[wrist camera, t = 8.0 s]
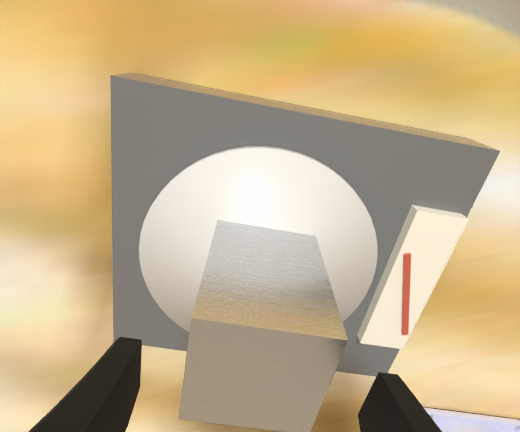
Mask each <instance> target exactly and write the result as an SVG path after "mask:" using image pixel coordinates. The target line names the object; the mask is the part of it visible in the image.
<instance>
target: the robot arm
mask: <svg viewBox="0 0 520 432" xmlns="http://www.w3.org/2000/svg"><path fill="white" fill-rule="evenodd" d="M141 347H142V340H141V339H134V338H126V337H119V338H118V339H116V341H115V342H114V343H113V344H112V345H111V347H110V348H109V349H108V350H107V351H106V352H105V354H104V355H103V356H102V357H101V358H100V359H99V360H98V362H97V363H96V364H95V365H94V366H93V367H92V368H91V369H90V370H89V371H88V373H87V374H86V375H85V376H84V377H83V378H82V379H81V380H80V381H79V382H78V383H77V384H76V385H75V386H74V387H73V388H72V389H71V390H70V391H69V393H68V394H67V395H66V396H65V397H64V398H63V399H62V400H61V401H60V402H59V403H58V404H57V405H56V406H55V407H54V408H53V409H52V410H51V411H50V412H49V413H48V414H47V415H46V416H45V417H43V418H42V419H41V420H40V421H39V422H38V423H37V424H36V425H35V426H34V427H33V428H32V429H31V430H30V431H29V432H125V431H126V428H127V426H128V423H129V420H130V417H131V414H132V411H133V407H134V404H135V401H136V398H137V395H138V391H139V388H140V372H141ZM358 417H359V424H360V431H361V432H520V420H518V419H510V418H502V417H494V416H486V415H479V414H471V413H463V412H455V411H447V410H440V409H432V408H424V407H423V406H422V405H421V404H420V403H419V401H418V400H417V399H416V397H415V396H414V395H413V393H412V392H411V391H410V390H409V388H408V387H407V386H406V384H405V383H404V382H403V381H402V379H401V378H400V377H399V376H398V375H396V374H389V373H382V372H379V373H378V375H377V377H376V379H375V381H374V383H373V385H372V387H371V389H370V391H369V393H368V395H367V397H366V399H365V401H364V403H363V405H362V407H361V409H360V412H359V414H358Z"/></svg>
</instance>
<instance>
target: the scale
mask: <svg viewBox="0 0 520 432" xmlns="http://www.w3.org/2000/svg"><path fill="white" fill-rule="evenodd" d="M111 152H112V240H113V328H114V341H116V339H118V338H119V337H126V338H134V339H141V340H142V345H145V346H153V347H160V348H168V349H175V350H183V351H187V348H188V340H189V332H190V323H191V317H192V313H193V309H194V306H195V302H196V298H197V295H198V291H199V287H200V283H201V280H202V276H203V272H204V268H205V265H206V261H207V257H208V254H209V250H210V246H211V242H212V239H213V235H214V231H215V228H216V224H217V220H223V221H229V222H235V223H241V224H247V225H253V226H259V227H265V228H271V229H277V230H283V231H289V232H295V233H301V234H307V235H313V236H316V238H317V241H318V244H319V248H320V251H321V254H322V258H323V261H324V264H325V267H326V271H327V274H328V277H329V280H330V284H331V287H332V290H333V293H334V297H335V300H336V303H337V306H338V310H339V313H340V316H341V319H342V323H343V326H344V329H345V333H346V336H347V339H348V341H347V344H346V346H345V349H344V351H343V354H342V356H341V359H340V361H339V363H338V366H337V368H336V371H339V372H347V373H354V374H362V375H369V376H377V375H378V373H379V372H382V373H388V371H389V369H390V367H391V365H392V363H393V361H394V359H395V357H396V355H397V353H398V351H399V349H403V347H404V345H405V343H406V341H407V340H408V338H409V336H410V334H411V332H412V330H413V328H414V326H415V324H416V322H417V320H418V318H419V316H420V314H421V312H422V310H423V308H424V306H425V305H426V303H427V301H428V299H429V297H430V295H431V293H432V291H433V289H434V287H435V285H436V283H437V281H438V279H439V277H440V275H441V273H442V271H443V269H444V268H445V266H446V264H447V262H448V260H449V258H450V256H451V254H452V252H453V250H454V248H455V246H456V244H457V242H458V240H459V238H460V236H461V234H462V232H463V231H464V229H465V227H466V225H467V223H468V221H469V219H468V218H467V215H468V213H469V211H470V210H471V208H472V206H473V204H474V202H475V200H476V198H477V196H478V194H479V192H480V190H481V188H482V186H483V184H484V182H485V180H486V178H487V176H488V174H489V172H490V170H491V168H492V166H493V164H494V162H495V160H496V158H497V156H498V154H499V152H500V151H499V150H496V149H494V148H491V147H488V146H486V145H483V144H481V143H478V142H476V141H473V140H471V139H468V138H463V137H458V136H453V135H448V134H443V133H438V132H433V131H427V130H422V129H417V128H412V127H407V126H402V125H397V124H392V123H386V122H381V121H376V120H371V119H366V118H361V117H356V116H351V115H346V114H340V113H335V112H330V111H325V110H320V109H315V108H310V107H305V106H300V105H294V104H289V103H284V102H279V101H274V100H269V99H264V98H259V97H253V96H248V95H243V94H238V93H233V92H228V91H223V90H218V89H213V88H207V87H202V86H197V85H192V84H187V83H182V82H177V81H172V80H166V79H161V78H156V77H151V76H146V75H141V74H136V73H128V74H119V75H111Z"/></svg>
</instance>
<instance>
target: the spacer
mask: <svg viewBox="0 0 520 432" xmlns="http://www.w3.org/2000/svg"><path fill="white" fill-rule="evenodd" d="M347 341H348V339H347V336H346V333H345V329H344V326H343V323H342V319H341V316H340V313H339V310H338V306H337V303H336V300H335V297H334V293H333V290H332V287H331V284H330V280H329V277H328V274H327V271H326V267H325V264H324V261H323V258H322V254H321V251H320V248H319V244H318V241H317V238H316V236H313V235H307V234H301V233H295V232H289V231H283V230H277V229H271V228H265V227H259V226H253V225H247V224H241V223H235V222H229V221H223V220H217V224H216V228H215V231H214V235H213V239H212V242H211V246H210V250H209V254H208V257H207V261H206V265H205V268H204V272H203V276H202V280H201V283H200V287H199V291H198V295H197V298H196V302H195V306H194V309H193V313H192V317H191V323H190V332H189V340H188V348H187V356H186V364H185V372H184V380H183V388H182V396H181V404H180V412H179V419H180V420H188V421H197V422H205V423H214V424H222V425H231V426H239V427H248V428H256V429H264V430H273V431H281V432H311V429H312V427H313V424H314V422H315V420H316V417H317V415H318V412H319V410H320V407H321V405H322V402H323V400H324V398H325V395H326V393H327V390H328V388H329V385H330V383H331V380H332V378H333V376H334V373H335V371H336V368H337V366H338V363H339V361H340V359H341V356H342V354H343V351H344V349H345V346H346V344H347Z"/></svg>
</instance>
